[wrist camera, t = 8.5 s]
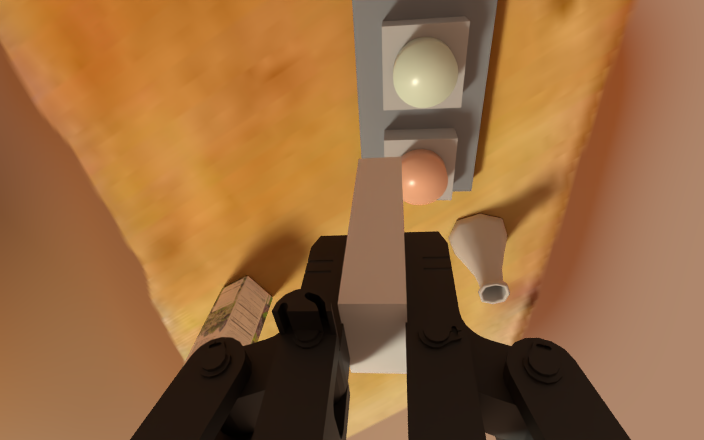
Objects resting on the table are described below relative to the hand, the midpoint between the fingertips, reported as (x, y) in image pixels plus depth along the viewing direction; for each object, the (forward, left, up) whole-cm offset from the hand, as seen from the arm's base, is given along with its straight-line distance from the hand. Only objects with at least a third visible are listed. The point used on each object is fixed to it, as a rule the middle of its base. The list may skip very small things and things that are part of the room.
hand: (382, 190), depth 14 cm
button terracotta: (+12, +3, -24) cm, 27 cm away
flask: (+24, +11, -27) cm, 38 cm away
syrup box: (+35, -22, -27) cm, 49 cm away
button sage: (+2, +3, -24) cm, 25 cm away
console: (+2, +3, -27) cm, 27 cm away
